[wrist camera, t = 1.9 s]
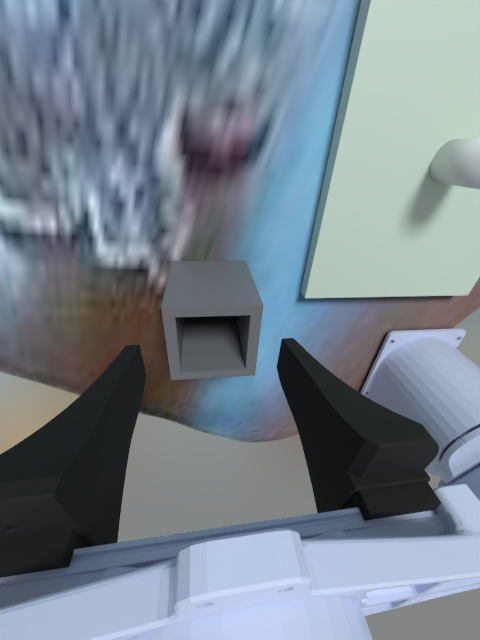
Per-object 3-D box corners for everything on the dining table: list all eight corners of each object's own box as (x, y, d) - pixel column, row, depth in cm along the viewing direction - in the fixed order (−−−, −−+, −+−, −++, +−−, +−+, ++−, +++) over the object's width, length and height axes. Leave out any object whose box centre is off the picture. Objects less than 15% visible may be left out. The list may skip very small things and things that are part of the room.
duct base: (457, 289, 22) (503, 315, 19) (300, 292, 20) (320, 321, 17) (661, -59, 12) (837, -136, 9) (386, -123, 10) (478, -253, 7)
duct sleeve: (241, 320, 21) (254, 375, 16) (177, 322, 20) (171, 380, 15) (245, 261, 18) (263, 304, 13) (171, 260, 17) (161, 307, 12)
